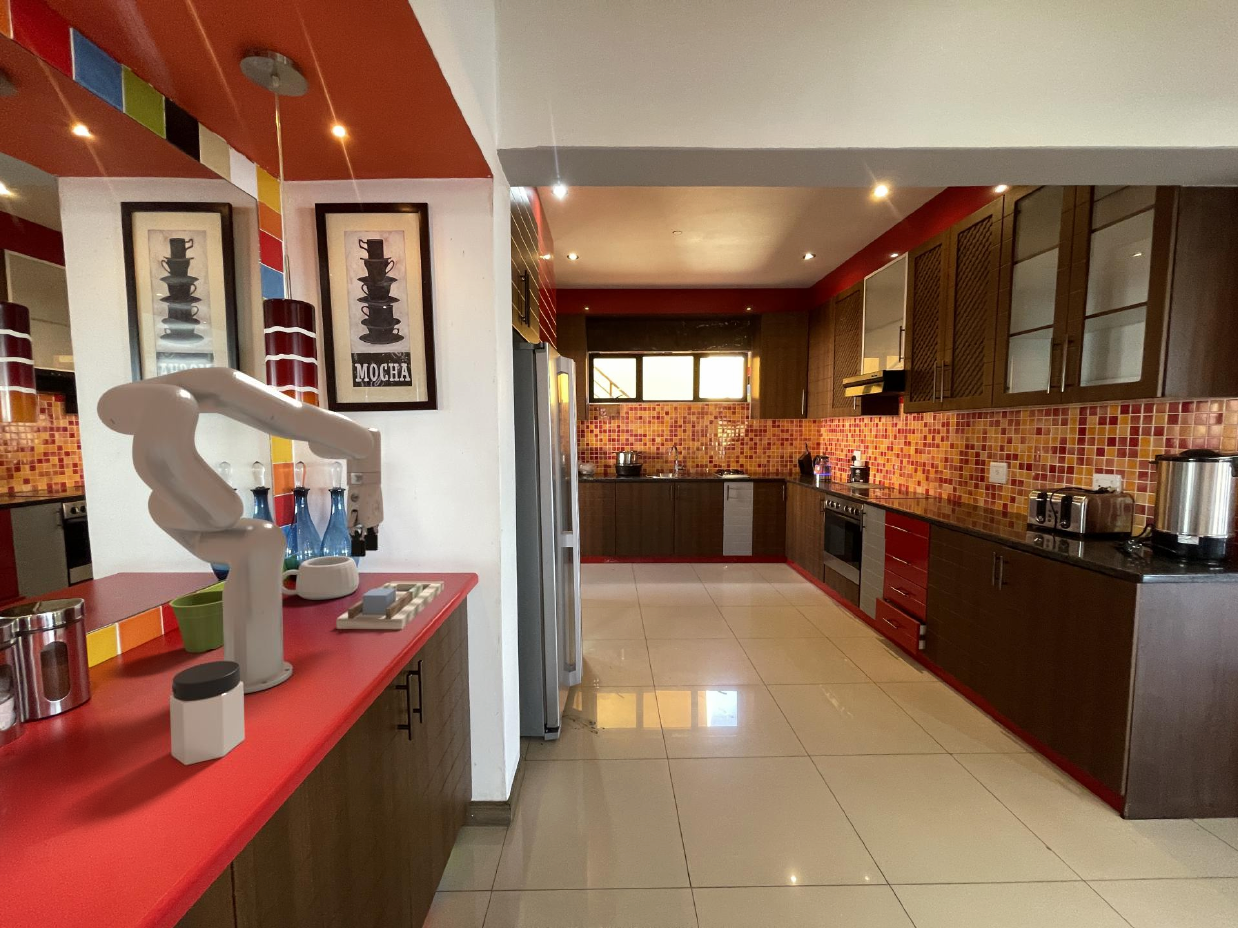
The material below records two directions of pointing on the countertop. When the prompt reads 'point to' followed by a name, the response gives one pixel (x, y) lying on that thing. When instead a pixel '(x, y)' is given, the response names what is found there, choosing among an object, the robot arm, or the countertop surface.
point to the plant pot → (200, 620)
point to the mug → (324, 578)
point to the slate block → (378, 601)
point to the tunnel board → (393, 606)
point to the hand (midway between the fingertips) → (364, 552)
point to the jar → (206, 711)
